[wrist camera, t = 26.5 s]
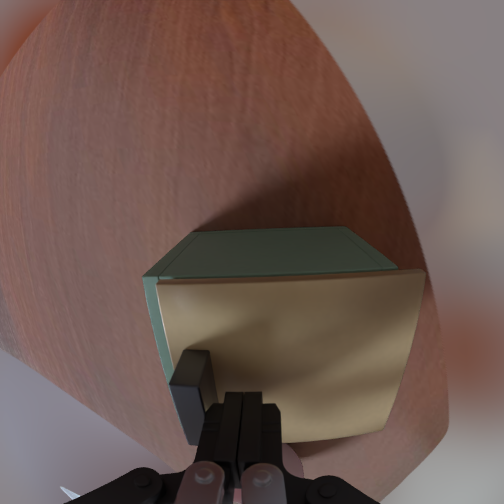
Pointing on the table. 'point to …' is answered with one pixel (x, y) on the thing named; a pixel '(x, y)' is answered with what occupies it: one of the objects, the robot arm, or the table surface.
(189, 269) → the case
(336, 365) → the slide door
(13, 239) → the table surface
